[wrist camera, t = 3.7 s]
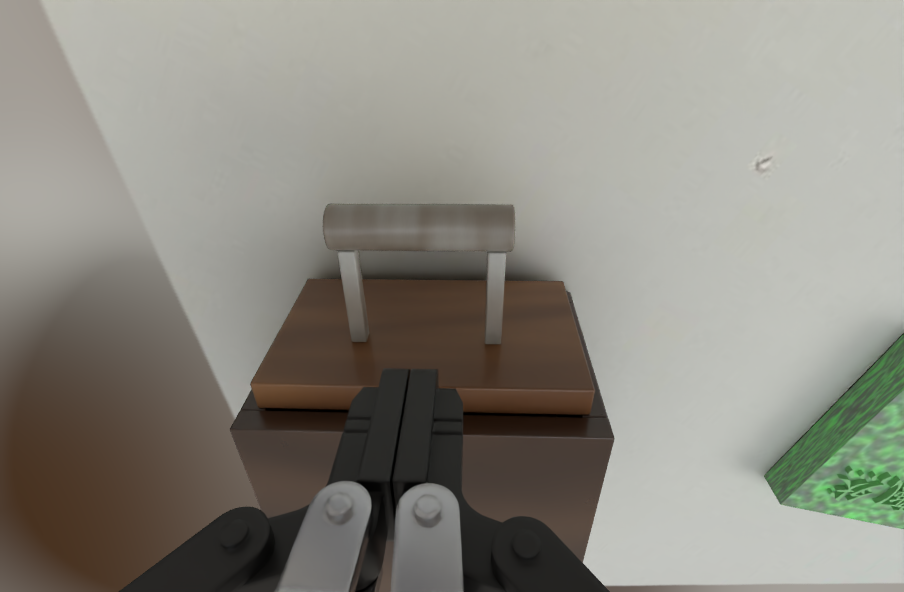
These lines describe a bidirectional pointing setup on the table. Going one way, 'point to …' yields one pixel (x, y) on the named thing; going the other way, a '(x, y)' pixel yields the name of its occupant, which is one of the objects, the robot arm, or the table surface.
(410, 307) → the drawer
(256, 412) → the cabinet
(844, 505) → the green jade tablet
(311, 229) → the table surface
